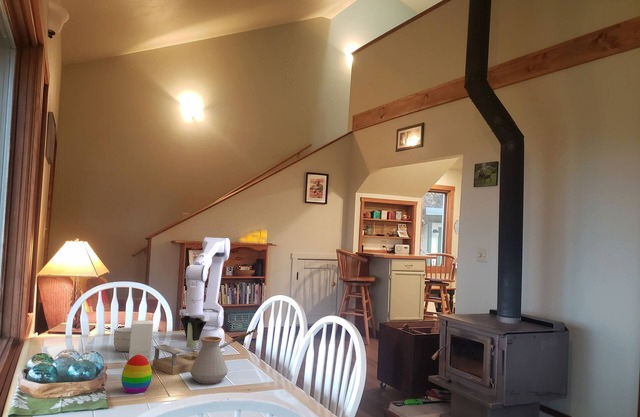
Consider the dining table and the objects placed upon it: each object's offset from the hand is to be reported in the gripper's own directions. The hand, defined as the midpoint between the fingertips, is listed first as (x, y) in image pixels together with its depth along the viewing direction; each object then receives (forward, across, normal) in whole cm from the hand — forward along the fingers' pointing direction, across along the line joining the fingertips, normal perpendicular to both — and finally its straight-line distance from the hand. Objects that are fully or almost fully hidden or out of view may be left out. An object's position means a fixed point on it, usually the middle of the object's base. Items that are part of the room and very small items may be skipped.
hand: (192, 339), depth 168 cm
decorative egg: (+9, +12, -27) cm, 31 cm away
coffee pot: (+9, +19, -1) cm, 21 cm away
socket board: (+9, 0, -2) cm, 9 cm away
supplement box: (+9, -20, -8) cm, 23 cm away
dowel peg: (+2, 0, 0) cm, 2 cm away
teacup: (+9, -31, -5) cm, 32 cm away
